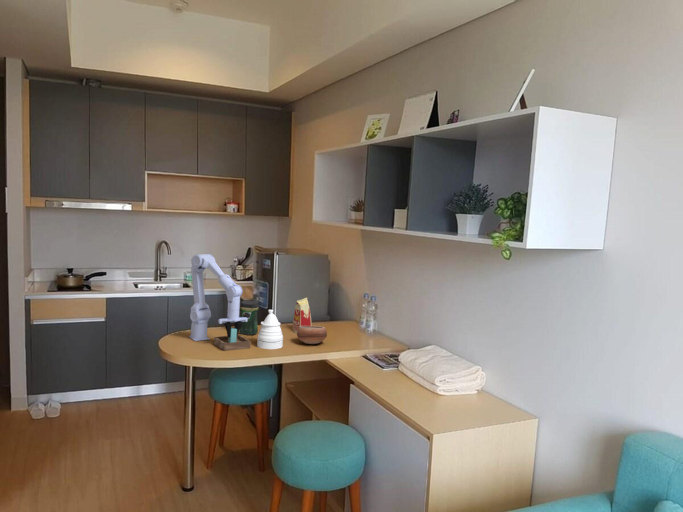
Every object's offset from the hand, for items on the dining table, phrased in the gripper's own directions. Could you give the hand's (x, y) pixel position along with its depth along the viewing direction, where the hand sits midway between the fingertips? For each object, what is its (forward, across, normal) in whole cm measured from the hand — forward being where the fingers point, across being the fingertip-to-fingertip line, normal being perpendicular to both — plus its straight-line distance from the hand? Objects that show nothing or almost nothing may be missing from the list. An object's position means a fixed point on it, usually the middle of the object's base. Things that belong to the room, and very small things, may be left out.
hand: (232, 336), depth 262 cm
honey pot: (+5, +18, -6) cm, 20 cm away
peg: (+3, 0, 0) cm, 3 cm away
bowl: (+5, +40, -10) cm, 42 cm away
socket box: (+5, 0, 0) cm, 5 cm away
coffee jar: (+5, +18, +21) cm, 28 cm away
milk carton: (+5, +48, +15) cm, 51 cm away
